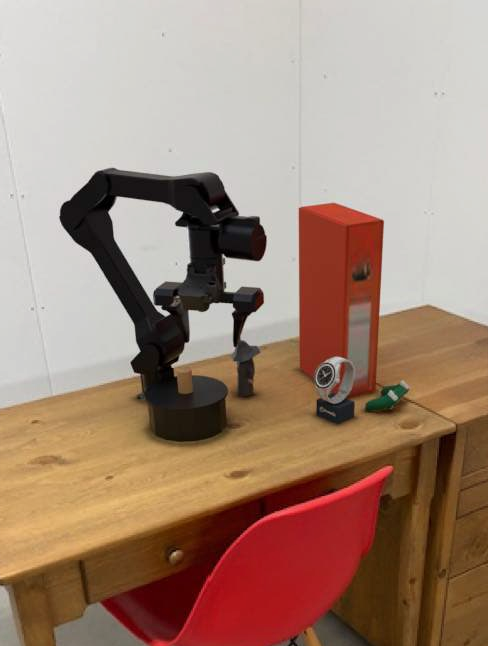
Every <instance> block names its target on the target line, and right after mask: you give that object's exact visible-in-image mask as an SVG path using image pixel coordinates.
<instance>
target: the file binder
mask: <svg viewBox="0 0 488 646" xmlns="http://www.w3.org/2000/svg"><path fill="white" fill-rule="evenodd" d="M384 229H385V220H384V219H382V218H379V217H377V216H374V215H371V214H368V213H366V212H363V211H359V210H356V209H354V208H350V207H348V206H345V205H343V204H340V203H336V202H328V203H319V204H313V205H305V206H300V207H298V303H299V304H298V306H299V307H298V312H299V313H298V315H299V318H298V319H299V320H298V321H299V324H298V325H299V332H298V333H299V335H298V337H299V369H300V371H302V372H303V373H305V374H306V375H307V376H309V377H310V378H311V379H313V380H314V375H315V372H316V370H317V368H318V367H319V366H320V365H321V364H322V363H324V362H325V361H327V360H329V359H330V358H333V357H341V358H344V359H347V360H349V361H351V362H352V363H353V365H354V368H355V380H354V383H353V386H352V389H351V391H350V393H349V395H347V396H346V397H345V398H347V399H350V398H353V397H358V396H362V395H366V394H369V393H374V391H377V390H376V388H377V386H376V385H377V367H378V348H379V330H380V329H379V327H380V307H381V289H382V287H381V286H382V268H383V249H384V247H383V246H384V233H385V232H384V231H385V230H384ZM340 364H341V367H340V371H339V379H340V382H339V383H337V384H336V386H335V387H334V388H333V389H332V390H331V393H335V394H338V392H339V390H338V389H339V387H340V385H341V382H342V379H343V376H344V374H345V372H346V366H345V363H344V362H342V363H340Z"/></svg>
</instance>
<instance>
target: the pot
mask: <svg viewBox="0 0 488 646" xmlns="http://www.w3.org/2000/svg"><path fill="white" fill-rule="evenodd" d="M226 401H227V400H226V398H225V399H224V400H223V401H222V402H220V403H218V404H216V405H214V406H211V407H208V408H205V409H200V410H194V411H168V410H162V409H159V408H155V407H153V406H151V405H149V404H148V403H147V411H148V419H149V421H148V422H149V428H150V431H151V432H152V433H153V434H154V436H156V437H158V438H160V439H163V440H165V441H169V442H170V441H171V442H176V443H177V442H178V443H188V442H189V443H190V442H199V441H203V440H208V439H211V438H213V437H215V436H218V435H220V434H221V433H222V432H223V431H224V430H225V429H226V428H227V427H228V423H227V404H226Z"/></svg>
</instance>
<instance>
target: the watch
mask: <svg viewBox="0 0 488 646" xmlns="http://www.w3.org/2000/svg"><path fill="white" fill-rule="evenodd" d="M342 362H344V363H345V366H346V372H345V374H344V376H343V379H342V382H341V385H340V387H339V389H338V390H339V392H338V394H335V393H333V392H331V390H332V389H333V388H334V387H335V386H336V384H337V383H339V382H340V379H339V371H340V367H341V364H340V363H342ZM354 380H355V368H354V365H353V363H352V362H351V361H349V360H347V359H344V358H341V357H333V358H330V359H329V360H327V361H325V362H324V363H322V364H321V365H320V366H319V367H318V368H317V370H316V372H315V375H314V379H313V381H314V382H313V383H314V385H315V390H316V392H317V395H318V396H319V398H317V399H316V408H315V409H316V410H315V411H316V412H315V413H316V414H315V415H316V416H318V417H320V418H322V419H324V420H326V421H329V422H330V423H333V424H335V425H340V424H342V423H344V422H348V421H350V420H352V419H354V418H355V409H356V408H355V407H356V406H355V405H356V401H354V400H352V399H350V398H345V397H346V396H347V395H349V393H350V391H351V389H352V386H353V383H354Z"/></svg>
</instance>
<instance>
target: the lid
mask: <svg viewBox="0 0 488 646" xmlns="http://www.w3.org/2000/svg"><path fill="white" fill-rule="evenodd" d="M143 394H144V399H143V400H144V401H145V402H146V404H147V405H148V404H149V405H151V406H153V407H155V408H159V409H162V410H168V411H194V410H200V409H205V408H208V407H211V406H214V405H216V404H218V403H220V402H222V401H223V400H224V399H225V400H226V399H227V397H228V394H229V388H228V386H227V384H225V382H223V381H221V380H219V379H217V378H216V377H215V378H214V377H210V376H205V375H197V374H195V375H194V374H193V370H192V368H191V367H190V366H182V367H178V368H177V369H176V375H174V377H169V378H165V379H162V380H159V381H156V382H154V383H152V384H151V385H149V386H148V387H147V388H146V389H145V391H144V393H143Z"/></svg>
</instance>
